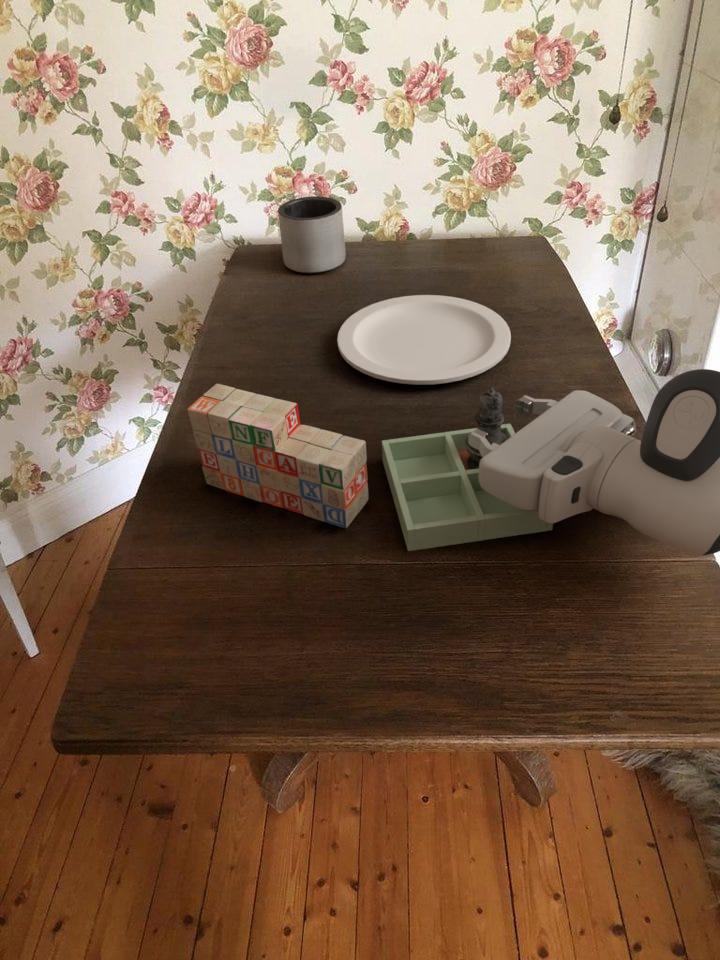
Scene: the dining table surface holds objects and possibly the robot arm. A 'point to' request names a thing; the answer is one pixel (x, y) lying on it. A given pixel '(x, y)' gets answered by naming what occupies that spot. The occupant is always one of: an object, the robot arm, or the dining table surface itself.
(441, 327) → the plate
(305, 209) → the planter
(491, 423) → the grey chess piece
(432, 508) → the grid
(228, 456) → the stack of blocks
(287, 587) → the dining table surface
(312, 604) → the dining table surface
